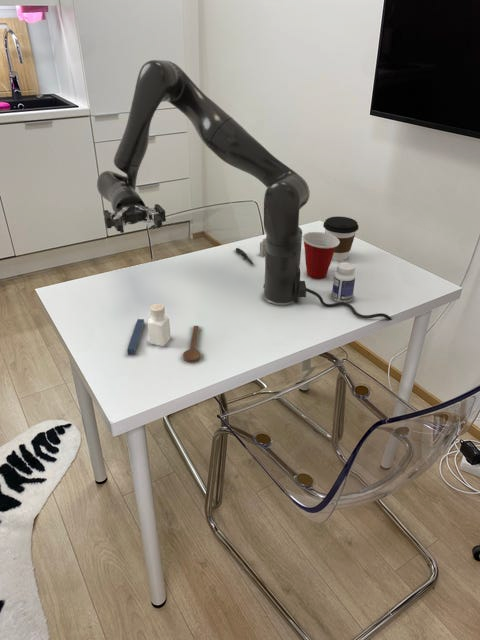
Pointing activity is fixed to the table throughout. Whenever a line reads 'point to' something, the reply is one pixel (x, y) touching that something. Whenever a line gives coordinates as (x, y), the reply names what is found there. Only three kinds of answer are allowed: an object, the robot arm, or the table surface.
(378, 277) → the table surface
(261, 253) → the lighter
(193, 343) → the wooden spoon
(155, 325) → the salt shaker
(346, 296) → the pill bottle
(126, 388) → the table surface
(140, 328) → the blue stick
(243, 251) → the folding knife
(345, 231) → the coffee cup
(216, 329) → the table surface
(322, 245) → the plastic cup
